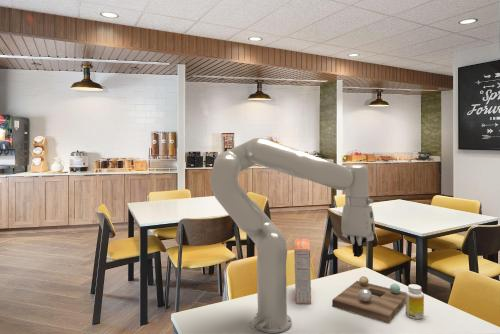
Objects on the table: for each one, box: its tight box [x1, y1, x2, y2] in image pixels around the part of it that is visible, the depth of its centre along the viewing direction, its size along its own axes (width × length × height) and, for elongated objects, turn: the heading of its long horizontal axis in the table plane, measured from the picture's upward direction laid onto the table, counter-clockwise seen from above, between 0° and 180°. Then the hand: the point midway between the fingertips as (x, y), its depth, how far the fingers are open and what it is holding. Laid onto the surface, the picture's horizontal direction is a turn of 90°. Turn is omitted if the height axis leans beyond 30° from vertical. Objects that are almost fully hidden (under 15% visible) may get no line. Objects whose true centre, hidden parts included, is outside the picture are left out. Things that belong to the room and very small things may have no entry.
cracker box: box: [293, 238, 312, 305], centre depth 137 cm, size 14×6×21 cm, turn 172°
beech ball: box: [358, 275, 370, 286], centre depth 141 cm, size 4×4×4 cm
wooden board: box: [331, 280, 406, 324], centre depth 131 cm, size 22×20×2 cm
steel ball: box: [359, 289, 372, 302], centre depth 126 cm, size 4×4×4 cm
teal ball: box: [389, 283, 401, 293], centre depth 133 cm, size 4×4×4 cm
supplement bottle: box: [405, 283, 425, 320], centre depth 120 cm, size 6×6×10 cm
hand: (357, 255), depth 119 cm, fingers closed
